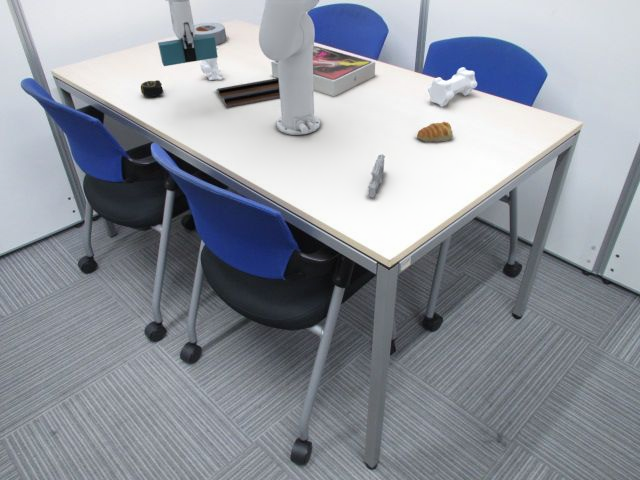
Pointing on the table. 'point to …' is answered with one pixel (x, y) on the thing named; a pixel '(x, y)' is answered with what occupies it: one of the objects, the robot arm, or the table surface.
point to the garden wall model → (376, 175)
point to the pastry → (436, 132)
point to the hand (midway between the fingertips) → (189, 58)
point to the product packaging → (336, 71)
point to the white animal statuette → (211, 68)
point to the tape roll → (211, 31)
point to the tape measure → (151, 88)
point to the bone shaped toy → (452, 86)
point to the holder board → (249, 92)
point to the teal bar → (175, 53)
